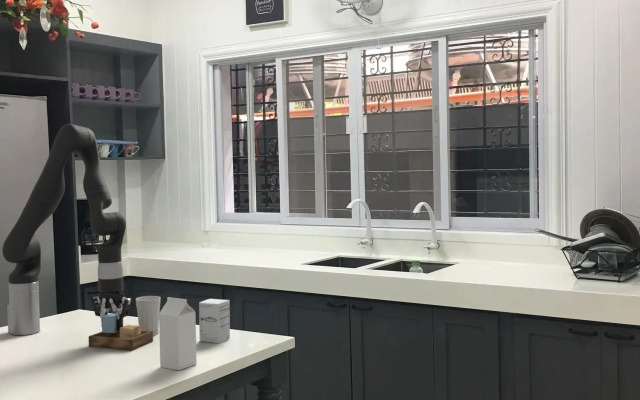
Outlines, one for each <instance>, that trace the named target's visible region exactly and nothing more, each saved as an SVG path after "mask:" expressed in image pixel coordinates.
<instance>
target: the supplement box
mask: <svg viewBox="0 0 640 400" xmlns="http://www.w3.org/2000/svg"><path fill="white" fill-rule="evenodd" d="M230 304H231V303H230V299H221V298H220V299H217V298H208V299H205V300H202V301H199V303H198V308H199V309H198V313H199V314H198V316H199V317H198V319H199V320H198V321H199V325H198V326H199V327H198V328H199V342H200V343H201V342H205V343H214V344H221V343H224V342H226V341H227V340H229V339H231V338H230V337H231V331H230V329H231V325H230V324H231V322H230V320H231V319H230V315H231V314H230V312H231V311H230Z"/></svg>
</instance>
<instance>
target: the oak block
mask: <svg viewBox="0 0 640 400" xmlns="http://www.w3.org/2000/svg"><path fill="white" fill-rule="evenodd" d="M140 335H141V325H139V324H137V325H136V324H126V325H123V327H120V338H124V339H132V338H135V337H137V336H140Z"/></svg>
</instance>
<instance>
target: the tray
mask: <svg viewBox="0 0 640 400" xmlns="http://www.w3.org/2000/svg"><path fill="white" fill-rule="evenodd" d="M153 342H154V336H153V331H144V330H141V335H140V336H137V337H135V338H132V339H124V338H120V331H118V332H116V333H105V332H102V331H99V332H97V333H94V334H91V335H89V336H88V347H89V348H95V349H96V348H99V349H110V350H120V351H132V352H133V351H134V350H137V349H139V348H141V347H143V346H146V345H148V344H151V343H153Z"/></svg>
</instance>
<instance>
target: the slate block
mask: <svg viewBox="0 0 640 400" xmlns="http://www.w3.org/2000/svg"><path fill="white" fill-rule="evenodd" d="M101 332H105V333H116V332H118V331H117V330H116V316H115V313H108V314H107V315H104V316H102V326H101Z"/></svg>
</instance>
